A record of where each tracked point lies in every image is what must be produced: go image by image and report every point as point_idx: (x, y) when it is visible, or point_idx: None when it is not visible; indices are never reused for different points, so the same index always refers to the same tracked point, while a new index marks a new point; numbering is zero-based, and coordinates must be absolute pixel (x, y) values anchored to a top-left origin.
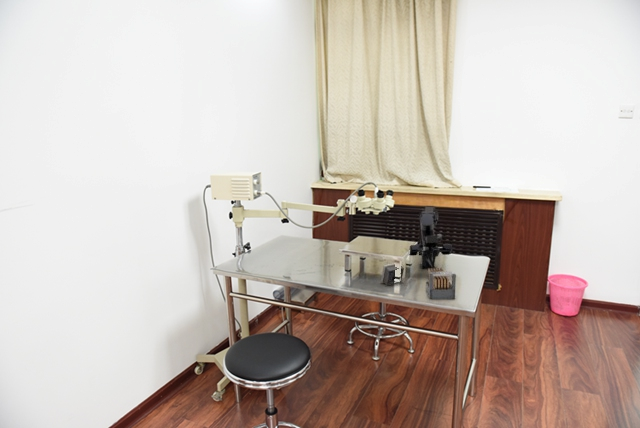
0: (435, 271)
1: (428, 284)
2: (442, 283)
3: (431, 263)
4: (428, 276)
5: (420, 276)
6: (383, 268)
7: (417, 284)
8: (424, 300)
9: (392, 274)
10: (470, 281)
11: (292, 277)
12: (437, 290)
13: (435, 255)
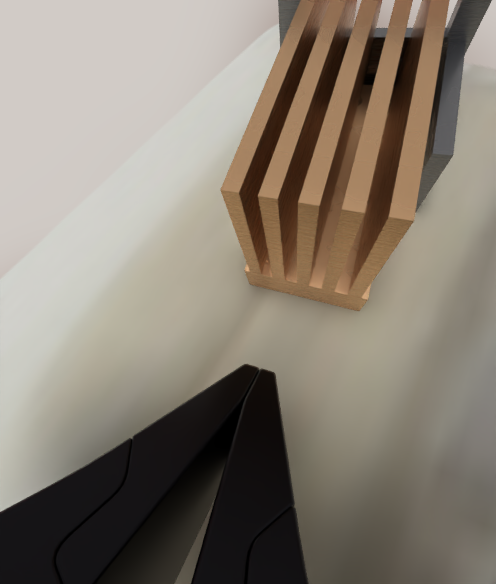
0: (337, 150)
1: (449, 105)
2: None
3: (271, 401)
4: (373, 279)
5: (340, 575)
6: None
7: (449, 351)
8: (474, 94)
9: None
10: (39, 290)
11: None
12: (407, 33)
13: (3, 535)
